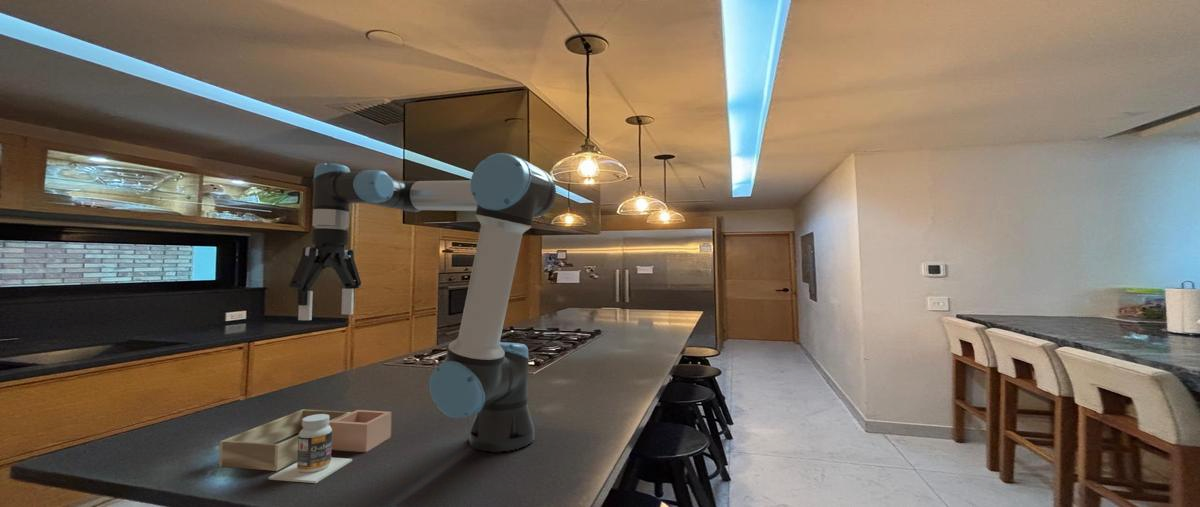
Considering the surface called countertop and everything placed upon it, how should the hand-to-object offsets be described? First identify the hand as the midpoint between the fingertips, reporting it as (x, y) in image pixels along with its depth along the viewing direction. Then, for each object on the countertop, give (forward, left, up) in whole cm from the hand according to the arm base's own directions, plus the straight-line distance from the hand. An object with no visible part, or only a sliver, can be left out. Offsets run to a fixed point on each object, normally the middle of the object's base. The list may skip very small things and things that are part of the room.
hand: (327, 317), depth 106 cm
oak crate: (+3, +6, -29) cm, 29 cm away
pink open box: (-11, +1, -29) cm, 31 cm away
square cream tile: (-10, +15, -29) cm, 34 cm away
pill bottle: (-10, +15, -28) cm, 34 cm away
